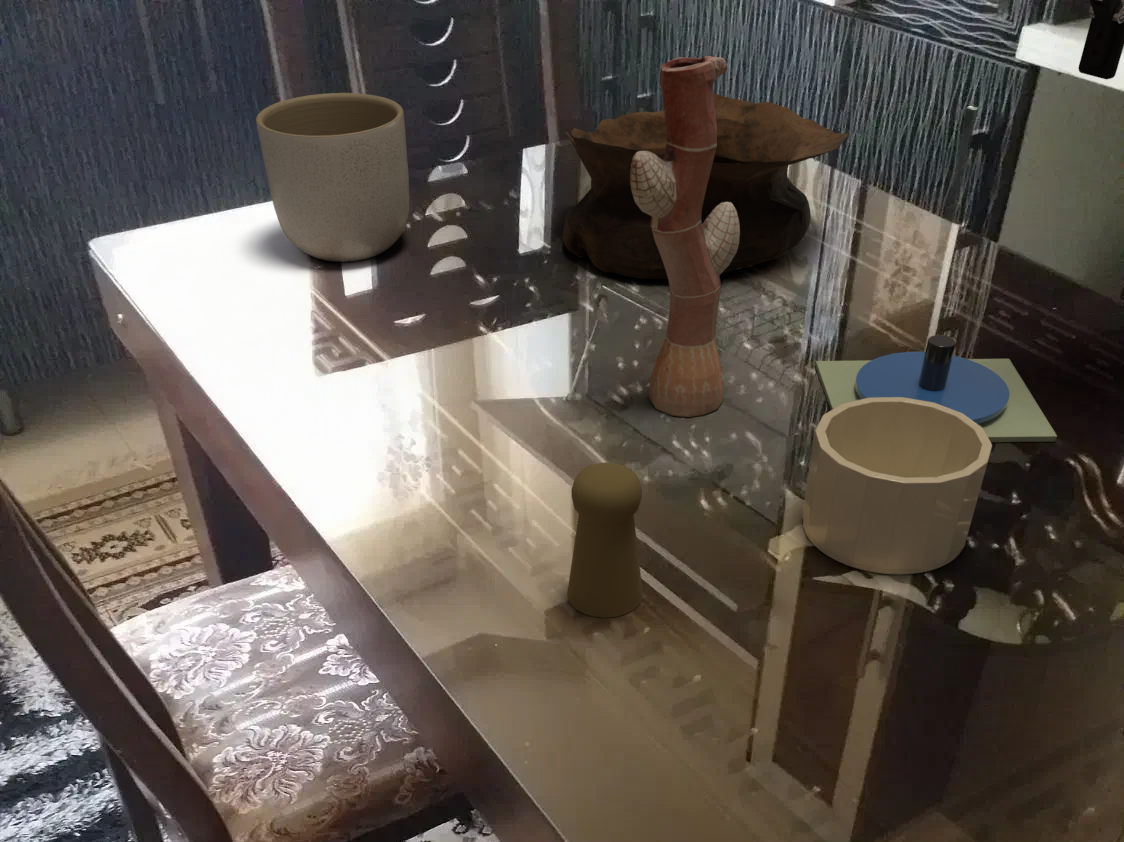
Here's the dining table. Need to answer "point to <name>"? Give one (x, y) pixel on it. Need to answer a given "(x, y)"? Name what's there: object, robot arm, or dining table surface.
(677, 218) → the vase
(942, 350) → the lid
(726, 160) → the bowl
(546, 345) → the dining table surface
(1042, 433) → the mat
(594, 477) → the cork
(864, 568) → the pot
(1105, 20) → the robot arm
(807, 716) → the dining table surface
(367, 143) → the planter
